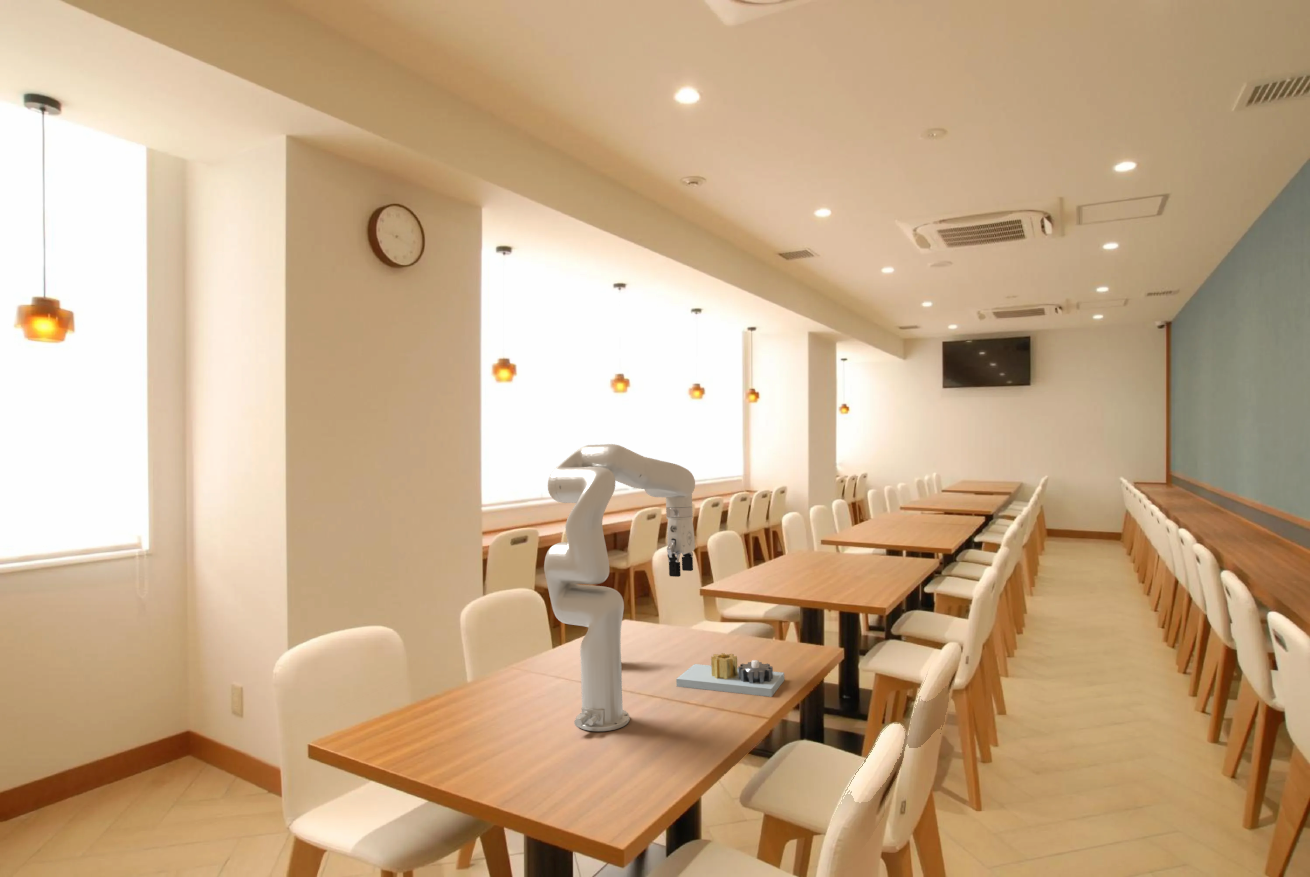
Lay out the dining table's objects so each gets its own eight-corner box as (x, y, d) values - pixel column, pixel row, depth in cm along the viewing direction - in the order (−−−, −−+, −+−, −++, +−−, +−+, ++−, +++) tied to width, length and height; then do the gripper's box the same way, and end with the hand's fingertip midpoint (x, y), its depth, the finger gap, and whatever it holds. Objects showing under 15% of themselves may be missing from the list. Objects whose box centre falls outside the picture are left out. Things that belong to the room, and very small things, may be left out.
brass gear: (732, 680, 187) (732, 661, 187) (708, 677, 190) (707, 659, 190) (740, 672, 193) (739, 654, 193) (716, 670, 196) (716, 652, 196)
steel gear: (767, 685, 182) (767, 673, 182) (734, 681, 186) (734, 670, 186) (776, 674, 190) (775, 663, 190) (744, 671, 194) (744, 660, 194)
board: (771, 696, 179) (770, 671, 179) (676, 686, 190) (675, 661, 190) (784, 680, 192) (783, 655, 192) (694, 671, 202) (694, 648, 203)
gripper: (680, 516, 192) (682, 579, 192) (702, 510, 208) (704, 569, 207) (655, 516, 195) (657, 578, 195) (678, 510, 211) (680, 568, 211)
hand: (681, 573), depth 201 cm, fingers open, 9 cm apart
